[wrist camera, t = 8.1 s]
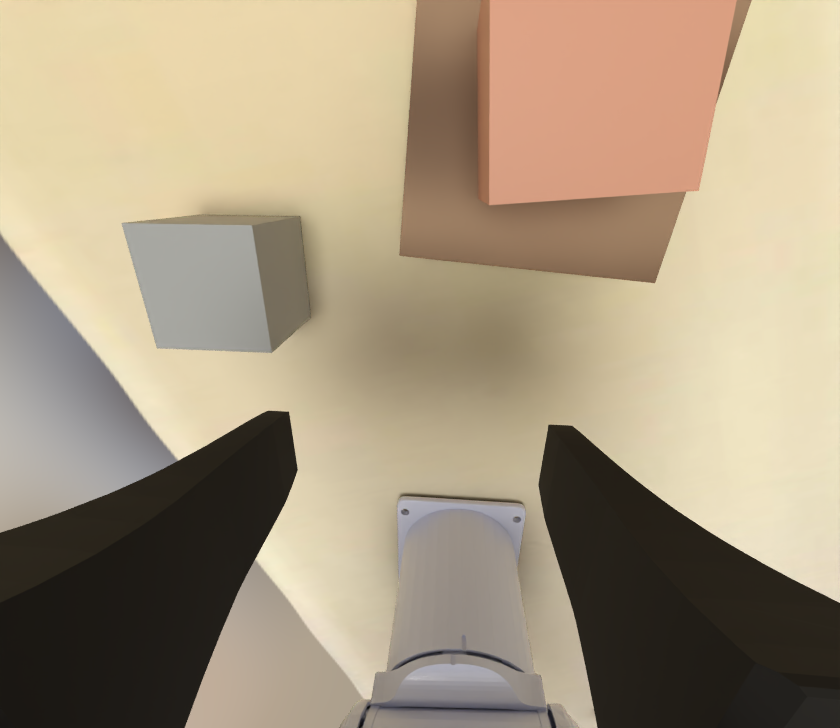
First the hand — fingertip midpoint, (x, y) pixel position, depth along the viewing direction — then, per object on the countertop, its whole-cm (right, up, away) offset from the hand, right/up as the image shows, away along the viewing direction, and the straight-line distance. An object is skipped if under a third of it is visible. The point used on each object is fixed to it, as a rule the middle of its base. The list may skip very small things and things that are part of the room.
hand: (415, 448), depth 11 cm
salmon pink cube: (+5, +11, +2) cm, 12 cm away
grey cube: (-8, +7, +9) cm, 14 cm away
